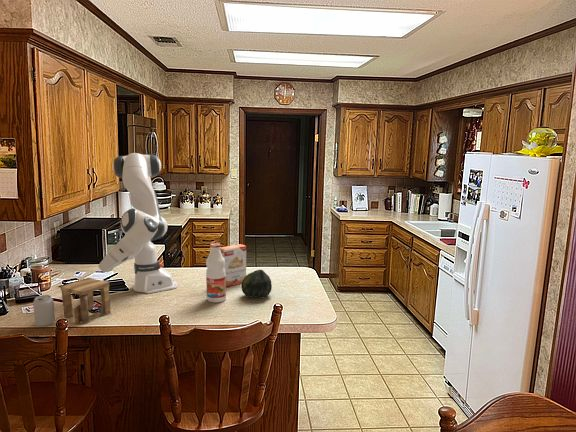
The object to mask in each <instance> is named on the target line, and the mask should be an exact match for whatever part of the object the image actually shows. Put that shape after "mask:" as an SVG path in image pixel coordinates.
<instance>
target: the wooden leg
mask: <svg viewBox="0 0 576 432" xmlns="http://www.w3.org/2000/svg"><path fill="white" fill-rule="evenodd" d="M78 297H79V305H80V309H81V320H82V322H81V324H89V323H90V320H92V319H94V318H97V317H102V316H104V314H103V307H102V305H100V306H98V307H97V309H98V311H97V312H95V313H92V314H90V312H89V311H90V310H88V299H87V295H79V296H78ZM89 314H90V315H89Z"/></svg>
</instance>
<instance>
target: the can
mask: <svg viewBox="0 0 576 432" xmlns="http://www.w3.org/2000/svg"><path fill="white" fill-rule="evenodd" d="M32 306H33V307H32V308H33V314H34V324H35V325H36V326H37V327H40V328H41V327H42V328H43V327H48V326H49V327H50V326H51V325H53V324H54V323H55V321H56V316H55V305H54V298H53V297H52V295H50V294H43V295H39V296H36V297H35V298H34V300H33V302H32Z"/></svg>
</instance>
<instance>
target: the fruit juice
mask: <svg viewBox="0 0 576 432" xmlns="http://www.w3.org/2000/svg"><path fill="white" fill-rule="evenodd" d="M209 248H210V251H209V254H208V256H207V258H206V261H205V264H206V272H205V273H206V274H205V275H206V276H205V277H206V282H205V283H206V300H207V301H208V302H210V303H215V304H216V303H222V302H224V301H225V300H226V299H227V287H226V272H225V268H224V266H225V259H224V257H223V256H222V254H221V251H220V248H221V244H220V243H217V242H216V243H215V242H213V243H210V244H209Z"/></svg>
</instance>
